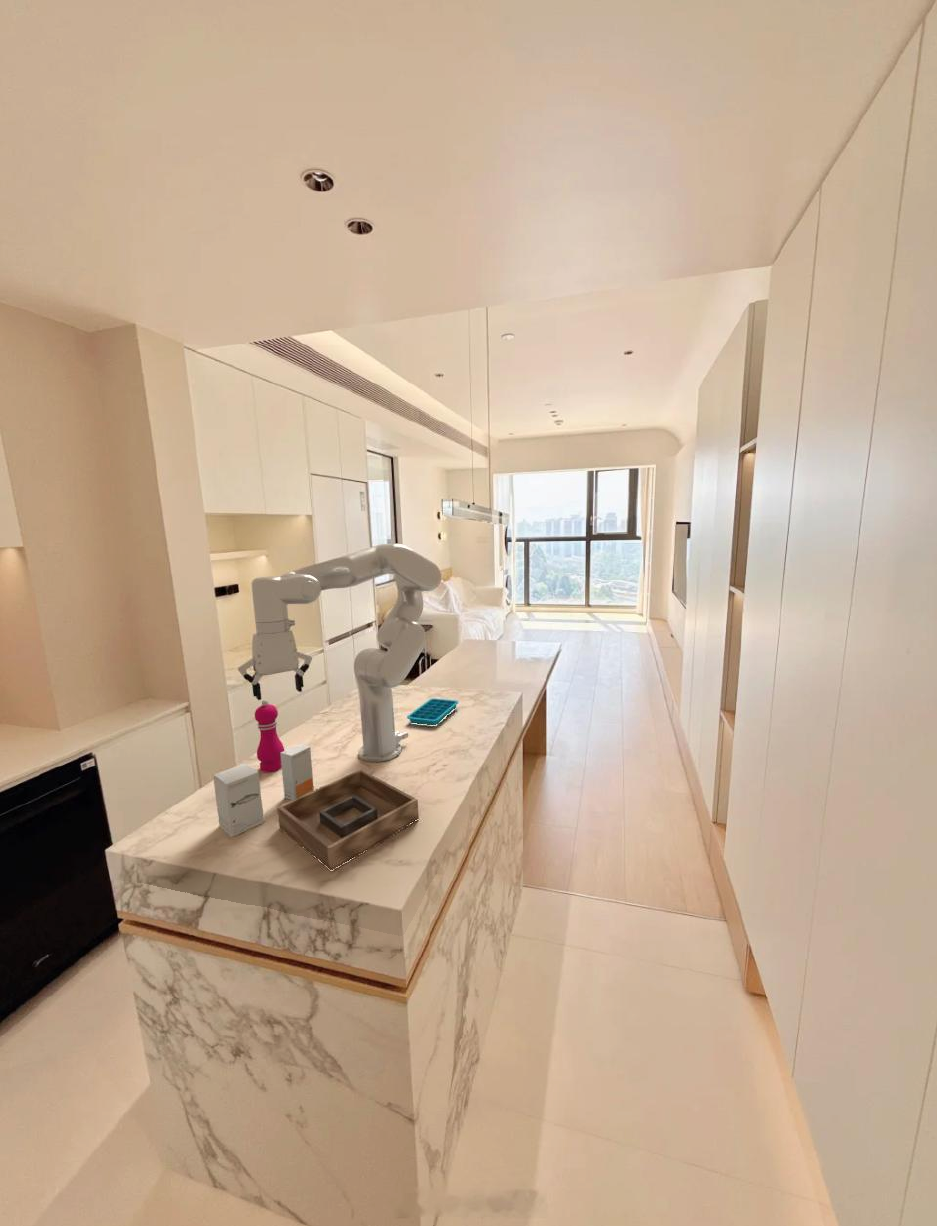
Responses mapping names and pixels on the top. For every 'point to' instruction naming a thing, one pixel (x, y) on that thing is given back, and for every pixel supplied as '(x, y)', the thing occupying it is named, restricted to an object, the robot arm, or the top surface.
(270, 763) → the pepper mill
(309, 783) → the skincare box
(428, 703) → the ice cube tray
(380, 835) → the walled box
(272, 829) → the top surface
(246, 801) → the supplement box
